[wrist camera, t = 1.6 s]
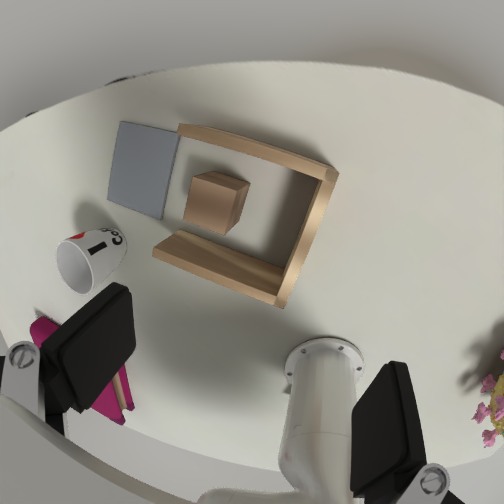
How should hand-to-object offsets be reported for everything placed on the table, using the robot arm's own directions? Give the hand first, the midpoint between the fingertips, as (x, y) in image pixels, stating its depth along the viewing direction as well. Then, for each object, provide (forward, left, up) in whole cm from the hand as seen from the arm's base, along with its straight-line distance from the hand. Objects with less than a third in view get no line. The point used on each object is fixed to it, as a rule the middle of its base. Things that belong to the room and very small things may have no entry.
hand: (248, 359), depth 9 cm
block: (-2, +9, -26) cm, 28 cm away
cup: (-15, +25, -26) cm, 39 cm away
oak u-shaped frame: (-2, +6, -26) cm, 27 cm away
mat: (-2, +22, -26) cm, 34 cm away
